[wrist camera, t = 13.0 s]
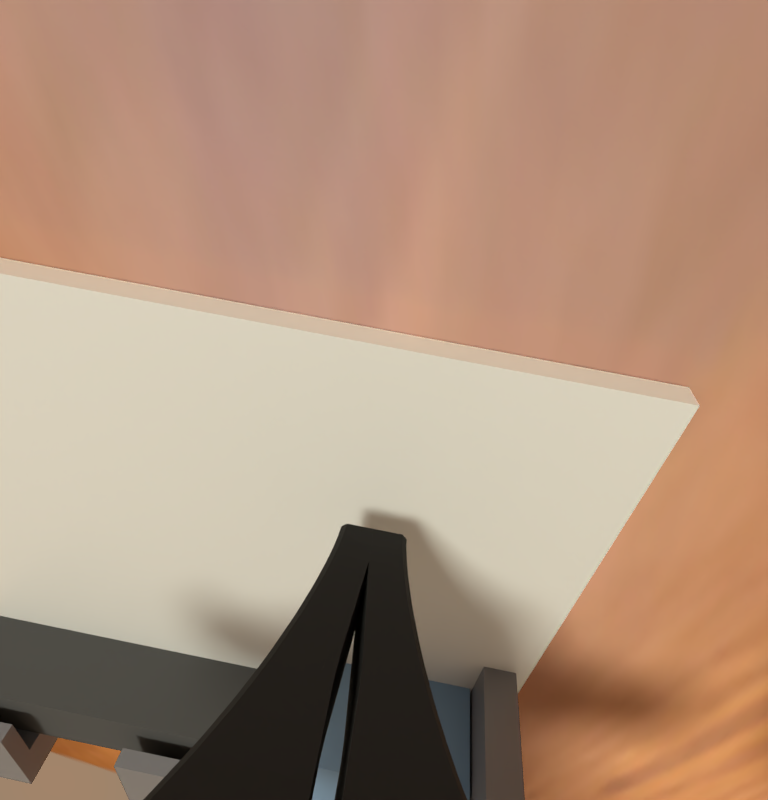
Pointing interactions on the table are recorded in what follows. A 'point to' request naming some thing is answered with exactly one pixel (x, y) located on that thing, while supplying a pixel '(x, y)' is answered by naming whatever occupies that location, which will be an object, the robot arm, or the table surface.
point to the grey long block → (159, 697)
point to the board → (300, 485)
